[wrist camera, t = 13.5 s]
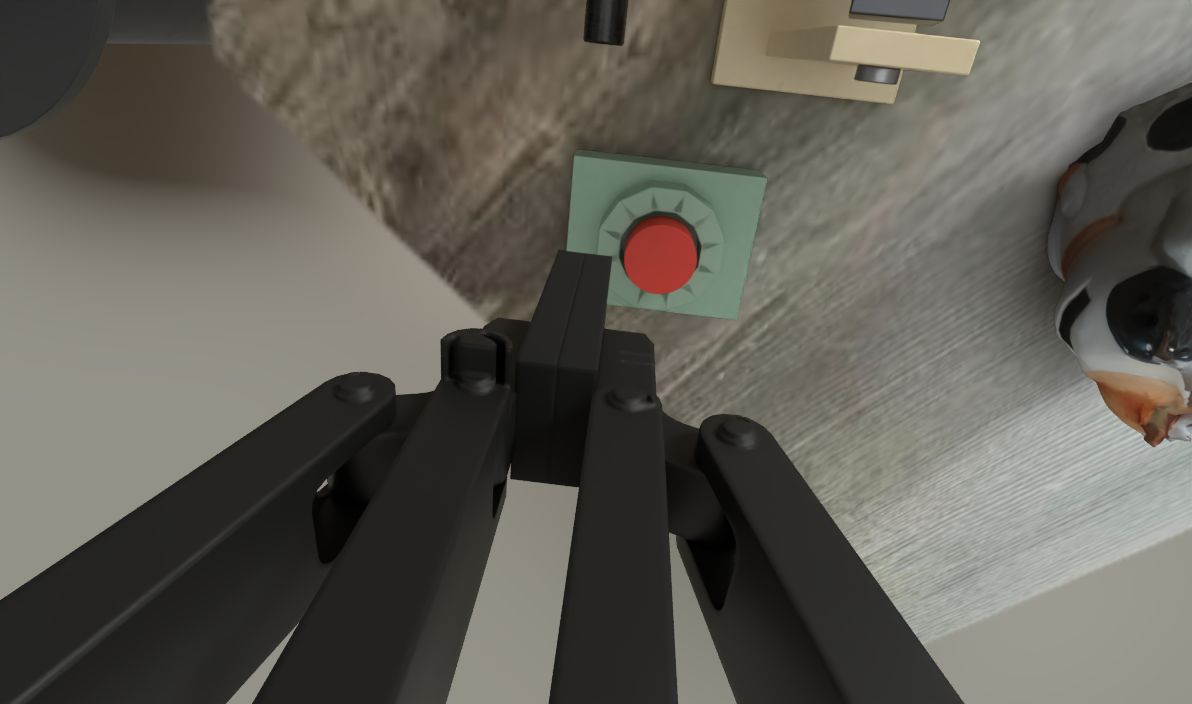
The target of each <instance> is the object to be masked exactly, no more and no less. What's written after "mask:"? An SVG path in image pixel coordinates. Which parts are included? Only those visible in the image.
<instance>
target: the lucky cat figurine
mask: <svg viewBox="0 0 1192 704" xmlns="http://www.w3.org/2000/svg"><path fill="white" fill-rule="evenodd" d="M1047 248H1048V257H1049V261H1050V264H1051V266H1052V268H1053V270H1054V272H1055V274H1056V275H1058V276H1059V277H1060V278H1061V279H1062V280H1063V281H1065V283H1064V287H1063V291H1062V294H1061V297H1060V299H1059V302H1058V304H1057V307H1056V308H1055V311H1054V322H1055V326H1056V330H1057V335H1058V336H1059V338H1060V339H1061V340H1062V341H1064V342H1065V343H1066V344H1067V346H1068V348H1069V350H1070V351H1071V352H1072V353H1074V354H1075V355H1076V356H1077V358H1078V360H1079V362H1080V365H1081V367H1082V370H1083V372H1084V374H1085V375H1086V376H1087V377H1089V378H1091V379H1093V380H1094V381H1095V382H1096V383H1097V385H1098V388H1099V391H1100V393H1101V395H1102V397H1103V399H1104V402H1105V403H1106V405H1107V406H1108V408H1109V409H1110V410H1111V411H1112V412H1113V413H1114V414H1115V415H1116V416H1117V417H1118V418H1120V419H1121V420H1122V421H1123V422H1124V423H1125V424H1127V425H1128V426H1130V427H1131V428H1133V429H1135V430H1136V431H1138V432H1139V433H1141V434H1142V435H1144V436H1145V437H1144V440H1145V441H1146V442H1147V443H1149V444H1150V445H1151V446H1153V447H1156V445H1158V444H1160V443H1161V442H1162V441H1163V439H1164V438H1166V439H1167V440H1169V441H1170V442H1171V441H1174V440H1184V441H1191V440H1192V439H1191V438H1189V437H1190V436H1191V434H1192V83H1189V84H1187V85H1185V86H1183V87H1180V88H1178V89H1175V90H1173V91H1171V92H1168V93H1166V94H1164V95H1161V96H1159V97H1157V98H1154V99H1152V100H1150V101H1147V102H1145V103H1142V104H1139V105H1136V106H1134V107H1131V108H1130V109H1128V110H1126V111H1123V112H1121V113H1120V114H1119V115H1118V117H1117V118H1116V119H1115V121H1114V123H1113V124H1112V126H1111V128H1110V129H1109V131H1108V133H1107V134H1106V136H1105V138H1104V140H1103V141H1102V142H1101V143H1099V144H1098V145H1096V146H1095V147H1093V148H1092V149H1090V150H1089V151H1087V152H1086V153H1084V154H1083V155H1082V156H1081V157H1080V158H1079V159H1078V160H1077V161H1075V162H1074V163H1072V164H1070V165H1069V169H1068V170H1067V172H1066V173H1065V175H1064V176H1063V178H1062V179H1061V180H1060V184H1059V187H1058V199H1057V204H1056V209H1055V213H1054V218H1053V221H1052V224H1051V227H1050V230H1049V234H1048V240H1047Z"/></svg>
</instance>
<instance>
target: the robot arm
mask: <svg viewBox="0 0 1192 704" xmlns="http://www.w3.org/2000/svg"><path fill="white" fill-rule="evenodd" d="M611 265H612V256H605V255H597V254H588V253H580V252H571V251H563V250H559V251H558V253H557V256H556V259H555V261H554V264H553V266H552V269H551V271H550V274H549V277H548V279H547V282H546V284H545V287H544V289H543V292H542V295H541V297H540V300H539V302H538V305H537V307H536V310H535V313H534V315H533V318H532V320H531V322H529V321H521V320H513V319H504V318H497V319H495V320H493V321H492V322H490V323H488V324H487V325H485V326H484V328H483V329H476V328H470V329H463V330H457V331H454V332H452V333H449V334H447V335H446V336H444V337H443V338H442V339H441V380H440V382H439V384H438V385H437V387H436V389H435V391H431V392H427V393H419V394H405V395H396V392H395V384H394V383H393V382H392V381H391V380H390V379H389V378H387V377H385V376H382V375H380V374H375V373H368V372H360V373H358V372H352V373H349V374H345V375H340V376H337V377H335V378H333V379H330V380H328V381H326V382H324V383H323V384H322V385H320V386H319V387H317V388H316V389H314V390H313V391H311V392H310V393H309V394H307V395H305V396H304V397H302V398H301V399H299V400H298V401H296V402H295V403H293V404H292V405H290V406H289V407H287V408H286V409H285V410H283V411H281V412H280V413H278V414H277V415H275V416H274V417H272V418H271V419H269V420H268V421H266V422H265V423H263V424H262V425H261V426H259V427H258V428H256V429H255V430H253V431H252V432H250V433H249V434H247V435H246V436H244V437H243V438H241V439H240V440H238V441H237V442H235V443H234V444H232V445H231V446H229V447H228V448H226V449H225V450H223V451H222V452H220V453H219V454H217V455H216V456H214V457H213V458H211V459H210V460H208V461H207V462H205V463H204V464H203V465H201V466H199V467H198V468H196V469H195V470H193V471H192V472H190V473H189V474H188V475H186V476H185V477H183V478H182V479H180V480H179V481H177V482H176V483H174V484H173V485H171V486H170V487H168V488H167V489H165V490H164V491H162V492H161V493H159V494H158V495H156V496H155V497H153V498H152V499H150V500H149V501H147V502H146V503H144V504H143V505H141V506H140V507H138V508H137V509H136V510H134V511H132V512H131V513H129V514H128V515H126V516H125V517H123V518H122V519H121V520H119V521H118V522H116V523H115V524H113V525H112V526H110V527H109V528H107V529H106V530H104V531H103V532H101V533H100V534H98V535H97V536H95V537H94V538H92V539H91V540H89V541H88V542H86V543H85V544H83V545H82V546H81V547H79V548H77V549H76V550H74V551H73V552H72V553H70V554H69V555H67V556H65V557H64V558H63V559H61V560H60V561H58V562H56V563H55V564H54V565H52V566H51V567H49V568H48V569H46V570H45V571H43V572H42V573H40V574H39V575H37V576H36V577H34V578H33V579H31V580H30V581H28V582H27V583H25V584H24V585H22V586H21V587H19V588H18V589H16V590H15V591H13V592H12V593H10V594H9V595H8V596H6V597H4V598H3V599H1V600H0V704H226V703H227V702H228V701H229V700H230V698H231V697H232V696H233V695H234V694H235V693H236V692H237V691H238V690H239V688H240V687H241V686H242V685H243V684H244V683H245V682H246V681H247V679H248V678H249V677H250V676H251V675H252V674H253V673H254V672H255V671H256V669H257V668H258V667H259V666H260V665H261V664H262V663H263V662H264V661H265V660H266V658H267V657H268V656H269V655H270V654H271V653H272V652H273V651H274V650H275V648H276V647H277V646H278V645H279V644H280V643H281V642H282V641H283V639H284V638H285V637H286V636H287V635H288V634H289V633H290V632H291V631H292V630H293V628H294V627H295V626H296V625H297V624H298V623H299V624H298V626H297V628H296V629H295V631H294V633H293V635H292V636H291V638H290V639H289V641H288V643H287V645H286V646H285V648H284V650H283V651H282V653H281V655H280V657H279V658H278V660H277V662H276V664H275V665H274V667H273V669H272V670H271V672H270V674H269V676H268V678H267V679H266V681H265V682H264V684H263V686H262V688H261V689H260V691H259V693H258V694H257V696H256V698H255V700H254V701H253V703H252V704H446V701H447V698H448V694H449V691H450V687H451V684H452V680H453V677H454V674H455V670H456V667H457V663H458V660H459V656H460V653H461V649H462V646H463V643H464V639H465V636H466V632H467V629H468V625H469V622H470V619H471V615H472V612H473V608H474V605H475V601H476V598H477V594H478V591H479V588H480V584H481V581H482V577H483V574H484V570H485V567H486V563H487V560H488V556H489V553H490V550H491V546H492V542H493V539H494V536H495V532H496V529H497V525H498V522H499V519H500V515H501V512H502V508H503V505H504V501H505V498H506V487H507V486H506V485H507V474H508V470H509V467H510V464H511V476H510V479H515V480H523V481H531V482H539V483H548V484H556V485H564V486H572V487H579V492H578V499H577V506H576V513H575V520H574V527H573V535H572V541H571V549H570V556H569V563H568V570H567V577H566V585H565V591H564V599H563V605H562V612H561V620H560V627H559V634H558V641H557V648H556V655H555V662H554V669H553V676H552V683H551V690H550V697H549V704H678V695H677V677H676V658H675V640H674V620H673V602H672V583H671V565H670V546H669V532H670V533H672V534H675V535H676V542H677V548H678V550H679V553H680V556H681V558H682V561H683V563H684V566H685V568H686V572H687V574H688V577H689V579H690V582H691V585H692V587H693V590H694V592H695V595H696V598H697V600H698V603H699V605H700V608H701V611H702V613H703V616H704V619H705V621H706V624H707V626H708V629H709V632H710V634H711V637H712V639H713V642H714V645H715V647H716V650H717V652H718V655H719V658H720V660H721V663H722V665H723V668H724V671H725V673H726V676H727V678H728V681H729V684H730V687H731V689H732V691H733V694H734V697H735V700H736V702H737V704H964V702H963V701H962V700H961V698H960V697H959V695H958V694H957V693H956V691H955V690H954V689H953V687H952V686H951V684H950V683H949V681H948V680H947V679H946V678H945V676H944V674H943V673H942V672H941V670H940V669H939V667H938V666H937V665H936V663H935V662H934V660H933V659H932V658H931V656H930V655H929V653H928V652H927V651H926V649H925V648H924V647H923V645H922V644H921V642H920V641H919V640H918V638H917V637H916V635H915V634H914V633H913V631H912V630H911V628H910V627H909V626H908V624H907V623H906V621H905V620H904V619H903V617H902V616H901V614H900V613H899V612H898V610H897V609H896V607H895V606H894V605H893V603H892V602H891V600H890V599H889V598H888V596H887V595H886V593H885V592H884V591H883V589H882V588H881V586H880V585H879V584H878V582H877V581H876V579H875V578H874V577H873V575H872V574H871V572H870V571H869V570H868V568H867V567H866V565H865V564H864V563H863V561H862V560H861V559H860V557H859V556H858V554H857V553H856V552H855V550H854V549H853V547H852V546H851V545H850V543H849V542H848V540H847V539H846V538H845V536H844V535H843V533H842V532H841V531H840V529H839V528H838V526H837V525H836V524H835V522H834V521H833V519H832V518H831V517H830V515H829V514H828V512H827V511H826V510H825V508H824V507H823V505H822V504H821V503H820V501H819V500H818V498H817V497H816V496H815V494H814V493H813V491H812V490H811V489H810V487H809V486H808V484H807V483H806V482H805V480H804V479H803V477H802V476H801V475H800V473H799V472H798V471H797V469H796V468H795V466H794V465H793V464H792V462H791V461H790V459H789V458H788V457H787V455H786V454H785V452H784V451H783V450H782V448H781V447H780V445H779V444H778V443H777V441H776V440H775V438H774V437H773V436H772V434H771V433H770V432H769V431H768V430H767V429H766V428H765V427H764V426H762V425H760V424H758V423H757V422H755V421H753V420H751V419H749V418H746V417H742V416H739V415H729V414H720V415H713V416H710V417H708V418H707V419H705V420H703V422H702V424H701V426H700V428H699V429H698V428H695V427H692V426H689V425H686V424H683V423H681V422H678V421H676V420H674V419H673V418H671V417H669V416H668V415H667V414H665V413H664V412H663V411H662V404H661V402H660V399H659V397H657V396H656V380H655V358H654V344H653V343H652V342H651V340H650V339H649V338H648V337H647V336H646V335H645V334H642V333H634V332H626V331H617V330H609V329H604V324H605V315H606V307H607V298H608V290H609V282H610V273H611ZM326 479H327V482H328V484H327V485H326V486H324V487H323V488H322V489H321V490H320V491H318V492H317V490H318V488H319V487H320V486H321V485H322V483H323V482H324V481H325V480H326Z"/></svg>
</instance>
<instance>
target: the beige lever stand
mask: <svg viewBox="0 0 1192 704" xmlns="http://www.w3.org/2000/svg"><path fill="white" fill-rule="evenodd" d="M851 2H852V0H724V5H723V11H722V17H721V23H720V29H719V35H718V41H717V47H716V53H715V58H714V64H713V70H712V76H711V83H713V84H716V85H725V86H733V87H742V88H751V89H760V90H769V91H778V92H787V93H795V94H804V95H813V96H822V97H831V98H840V99H849V100H858V101H866V102H875V103H884V104H893V103H894V101H895V98H896V94H897V91H898V88H899V84H900V81H901V78H902V74H903V71H904V70H906V71H918V72H929V73H940V74H952V75H963V76H967V75H969V72H970V70H971V67H972V64H973V61H974V58H975V55H976V52H977V49H978V46H979V43H980V41H979V40H971V39H962V38H953V37H944V36H935V35H926V34H917V33H915V31H916V27H917V25H914V24H903V23H892V22H881V21H870V20H858V19H850V18H849V10H850V6H851Z"/></svg>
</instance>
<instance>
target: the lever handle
mask: <svg viewBox="0 0 1192 704" xmlns="http://www.w3.org/2000/svg"><path fill="white" fill-rule="evenodd" d="M949 2H950V0H852V2H851V6H850V10H849V18H850V19H858V20H870V21H881V22H892V23H903V24H914V25H925V26H933V25H936V24H938V23H940V22H942V21H943V20H944V18H945V15H946V12H947V9H948V6H949ZM627 8H628V0H587V1H586V14H585V26H584V41H585V42H590V43H599V44H608V45H617V46H622V45H623V44H624V36H625V27H626V18H627Z"/></svg>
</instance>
